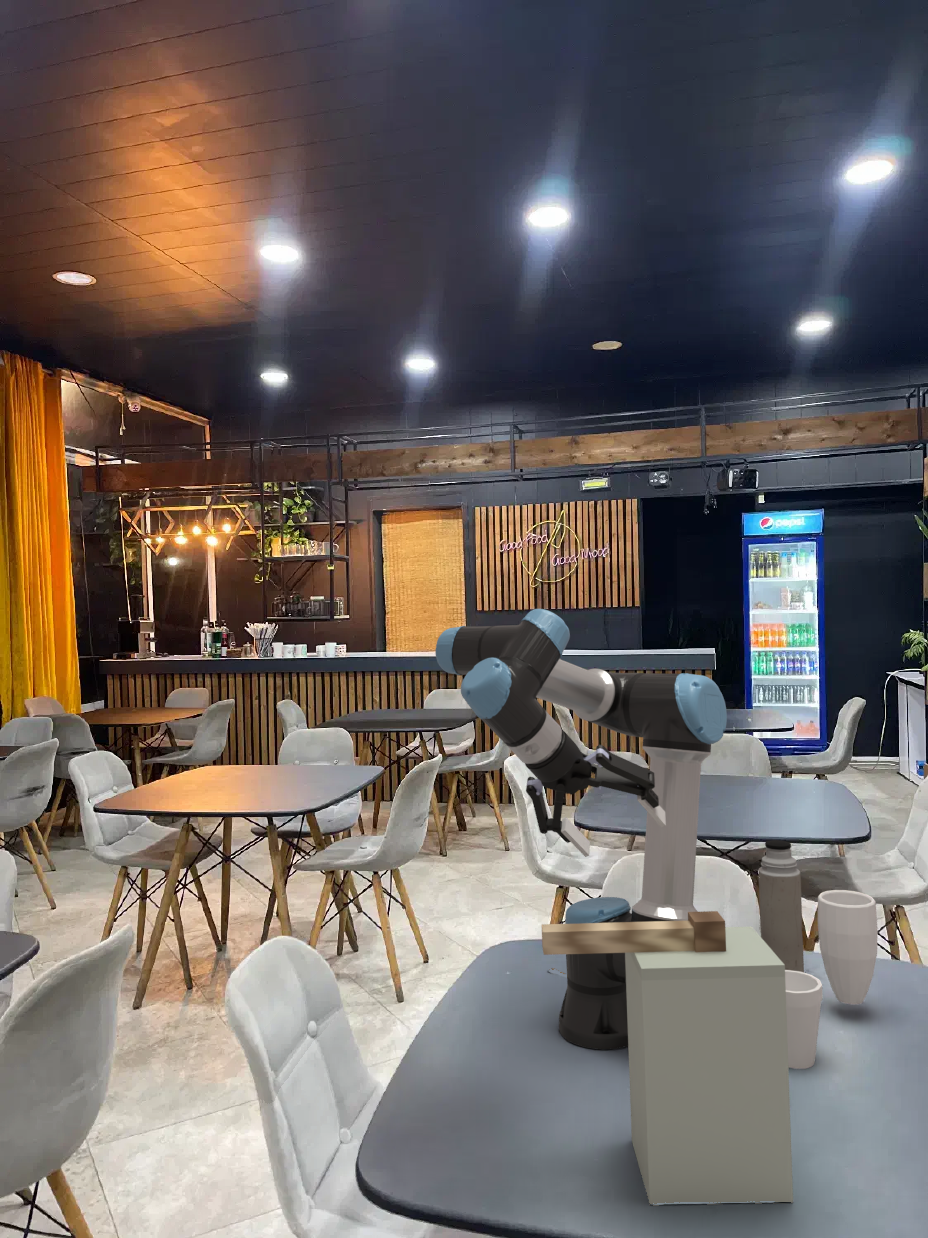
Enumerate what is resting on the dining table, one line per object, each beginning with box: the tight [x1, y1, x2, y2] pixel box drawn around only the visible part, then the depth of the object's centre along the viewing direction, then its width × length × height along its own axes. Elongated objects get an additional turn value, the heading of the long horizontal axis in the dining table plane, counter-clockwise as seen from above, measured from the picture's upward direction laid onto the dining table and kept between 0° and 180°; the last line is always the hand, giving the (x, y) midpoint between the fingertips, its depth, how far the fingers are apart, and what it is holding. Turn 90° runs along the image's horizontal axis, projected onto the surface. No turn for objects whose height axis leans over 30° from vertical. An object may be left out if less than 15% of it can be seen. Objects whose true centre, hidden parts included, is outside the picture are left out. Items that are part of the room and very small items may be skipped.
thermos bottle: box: [758, 839, 805, 973], centre depth 179 cm, size 8×8×28 cm
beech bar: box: [541, 910, 726, 956], centre depth 120 cm, size 24×4×4 cm, turn 89°
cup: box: [817, 889, 879, 1006], centre depth 163 cm, size 10×10×22 cm
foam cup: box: [785, 970, 824, 1070], centre depth 148 cm, size 10×9×13 cm
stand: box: [625, 926, 794, 1205], centre depth 120 cm, size 18×14×30 cm
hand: (624, 835), depth 137 cm, fingers open, 13 cm apart
